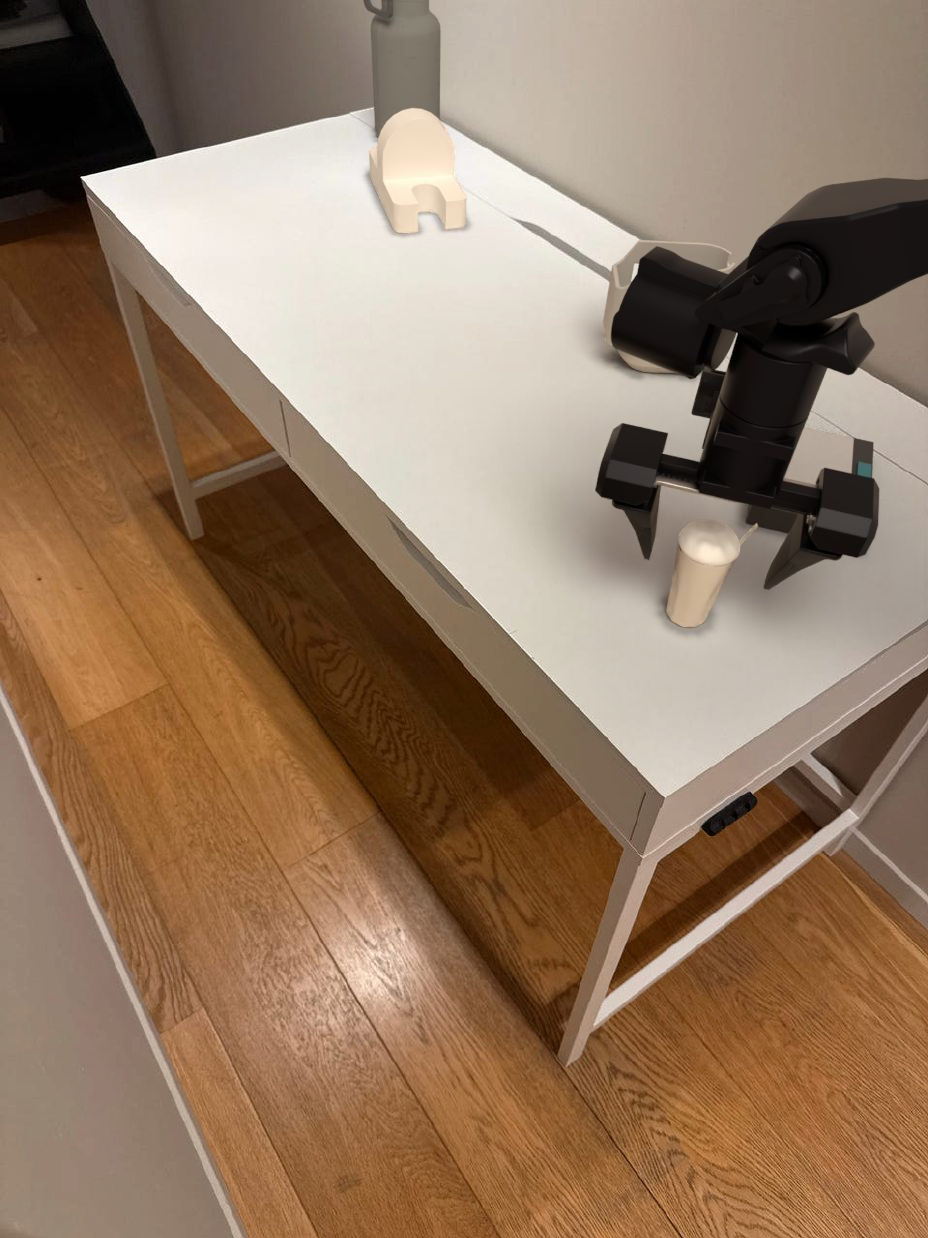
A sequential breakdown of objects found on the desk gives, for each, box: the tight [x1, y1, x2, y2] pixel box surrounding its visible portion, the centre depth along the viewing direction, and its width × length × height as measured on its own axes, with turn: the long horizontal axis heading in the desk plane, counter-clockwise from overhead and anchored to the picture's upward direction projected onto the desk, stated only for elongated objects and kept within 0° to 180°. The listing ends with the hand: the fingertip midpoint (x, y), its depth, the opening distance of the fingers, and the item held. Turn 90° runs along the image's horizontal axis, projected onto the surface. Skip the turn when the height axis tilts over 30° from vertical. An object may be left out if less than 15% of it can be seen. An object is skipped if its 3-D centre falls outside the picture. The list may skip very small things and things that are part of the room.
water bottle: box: [363, 0, 442, 137], centre depth 123 cm, size 10×10×28 cm
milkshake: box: [665, 519, 759, 628], centre depth 68 cm, size 4×5×10 cm
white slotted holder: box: [368, 108, 468, 234], centre depth 116 cm, size 10×18×11 cm, turn 15°
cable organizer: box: [602, 239, 736, 374], centre depth 91 cm, size 7×12×12 cm, turn 88°
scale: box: [745, 426, 875, 534], centre depth 81 cm, size 10×13×3 cm
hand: (706, 570), depth 68 cm, fingers open, 9 cm apart
